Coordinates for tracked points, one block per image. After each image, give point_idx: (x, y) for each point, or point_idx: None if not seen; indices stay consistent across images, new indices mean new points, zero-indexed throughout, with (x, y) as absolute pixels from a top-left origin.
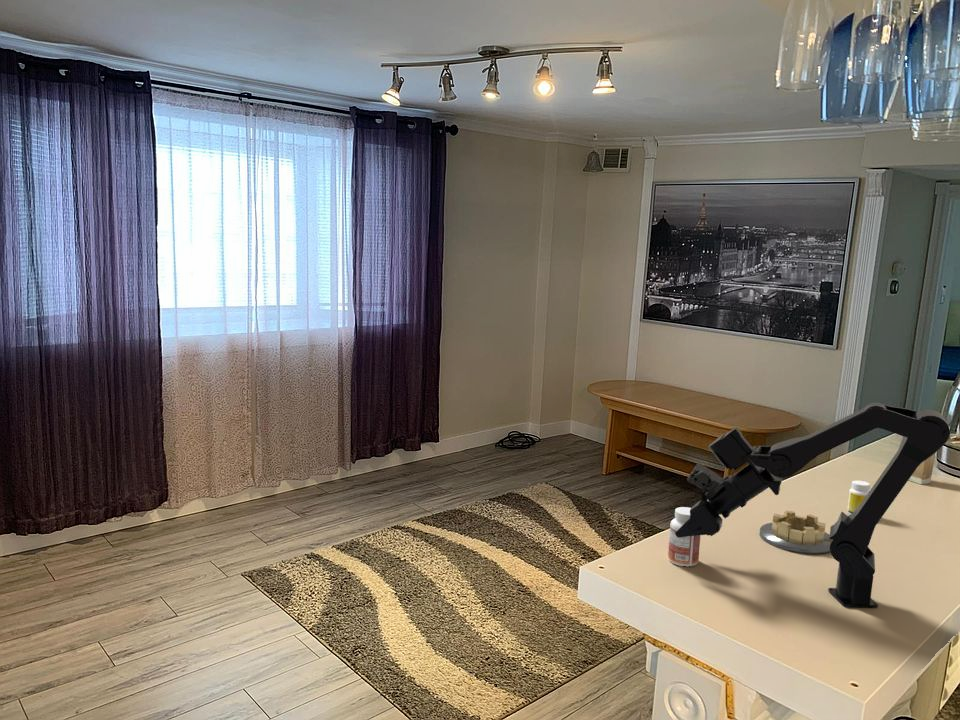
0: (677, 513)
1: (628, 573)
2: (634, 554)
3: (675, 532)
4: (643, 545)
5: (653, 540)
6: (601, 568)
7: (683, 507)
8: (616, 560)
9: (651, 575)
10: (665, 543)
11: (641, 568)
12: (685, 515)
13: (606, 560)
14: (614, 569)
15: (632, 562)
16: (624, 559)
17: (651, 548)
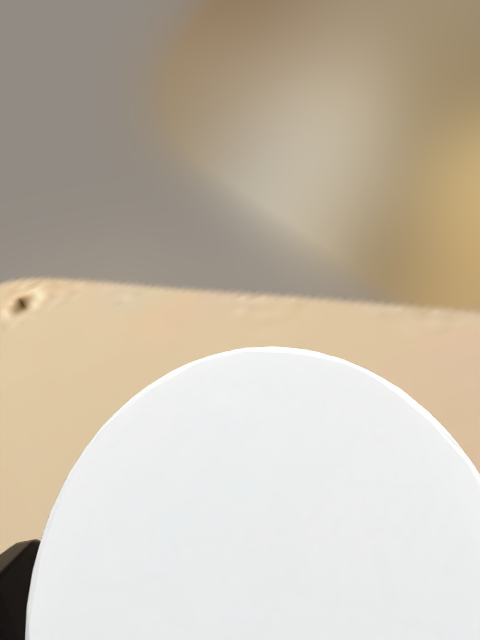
0: (99, 442)
1: (5, 404)
2: (212, 333)
3: (12, 547)
4: (341, 314)
5: (445, 319)
6: (11, 309)
7: (399, 417)
8: (108, 312)
9: (23, 500)
10: (469, 380)
11: (80, 425)
12: (29, 622)
13: (89, 288)
14: (21, 346)
15: (123, 366)
16: (135, 328)
17: (338, 356)
